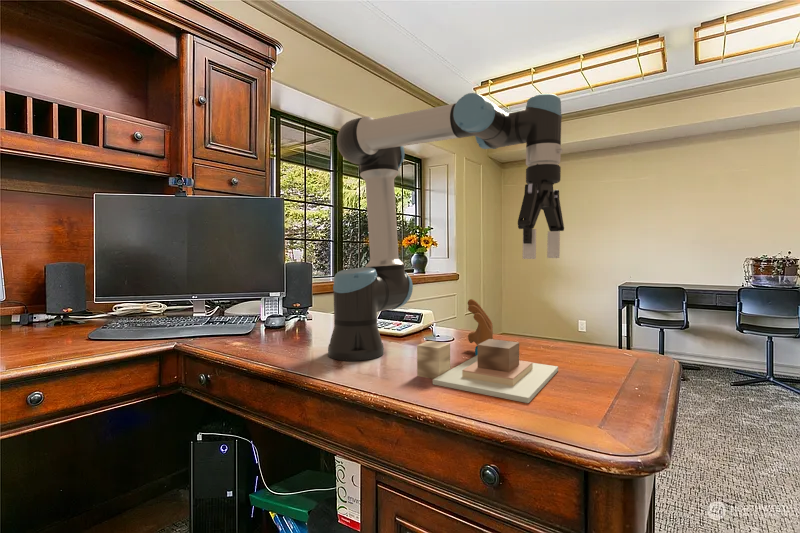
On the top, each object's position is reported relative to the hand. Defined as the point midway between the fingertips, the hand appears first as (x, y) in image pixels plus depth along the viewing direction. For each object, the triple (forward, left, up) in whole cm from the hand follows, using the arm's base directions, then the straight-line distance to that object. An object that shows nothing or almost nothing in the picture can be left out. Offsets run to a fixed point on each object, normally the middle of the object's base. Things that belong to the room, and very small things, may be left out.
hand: (541, 258), depth 94 cm
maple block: (-20, -16, -26) cm, 37 cm away
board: (-7, -10, -26) cm, 29 cm away
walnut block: (-7, -10, -24) cm, 27 cm away
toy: (-18, +7, -26) cm, 32 cm away
